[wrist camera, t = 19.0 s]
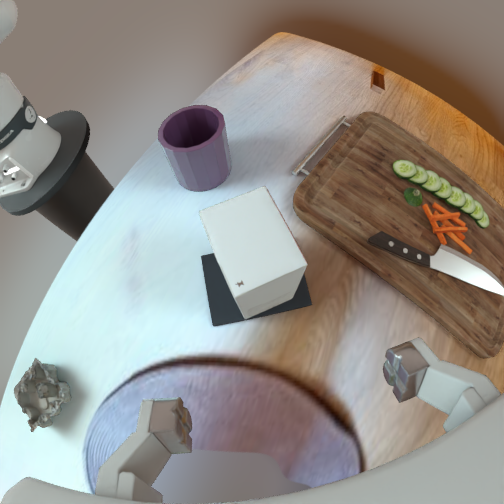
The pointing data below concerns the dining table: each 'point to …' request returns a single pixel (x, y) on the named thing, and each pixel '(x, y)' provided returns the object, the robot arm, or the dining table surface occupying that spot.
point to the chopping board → (412, 224)
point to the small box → (254, 250)
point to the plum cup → (196, 147)
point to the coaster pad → (225, 304)
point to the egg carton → (41, 394)
